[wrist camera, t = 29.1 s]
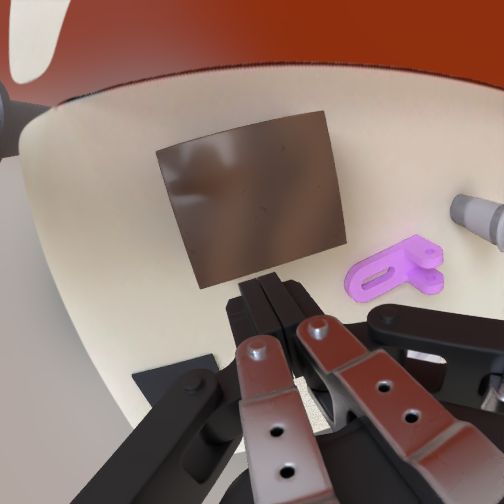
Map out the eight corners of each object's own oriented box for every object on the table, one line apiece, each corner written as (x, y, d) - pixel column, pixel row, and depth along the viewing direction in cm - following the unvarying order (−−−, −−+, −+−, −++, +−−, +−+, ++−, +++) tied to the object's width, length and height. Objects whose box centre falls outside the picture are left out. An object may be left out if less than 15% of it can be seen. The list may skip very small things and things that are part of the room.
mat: (165, 423, 44) (165, 426, 43) (131, 374, 39) (131, 376, 39) (235, 406, 45) (236, 409, 44) (211, 353, 40) (212, 355, 40)
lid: (199, 285, 29) (200, 289, 28) (156, 151, 24) (155, 151, 23) (343, 240, 30) (347, 243, 29) (320, 110, 25) (324, 110, 24)
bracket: (416, 234, 41) (448, 251, 34) (419, 266, 43) (448, 286, 36) (341, 270, 40) (367, 295, 33) (348, 304, 42) (373, 330, 36)
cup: (476, 195, 41) (531, 215, 30) (464, 233, 43) (517, 259, 32) (452, 182, 39) (513, 200, 28) (440, 223, 41) (498, 250, 30)
